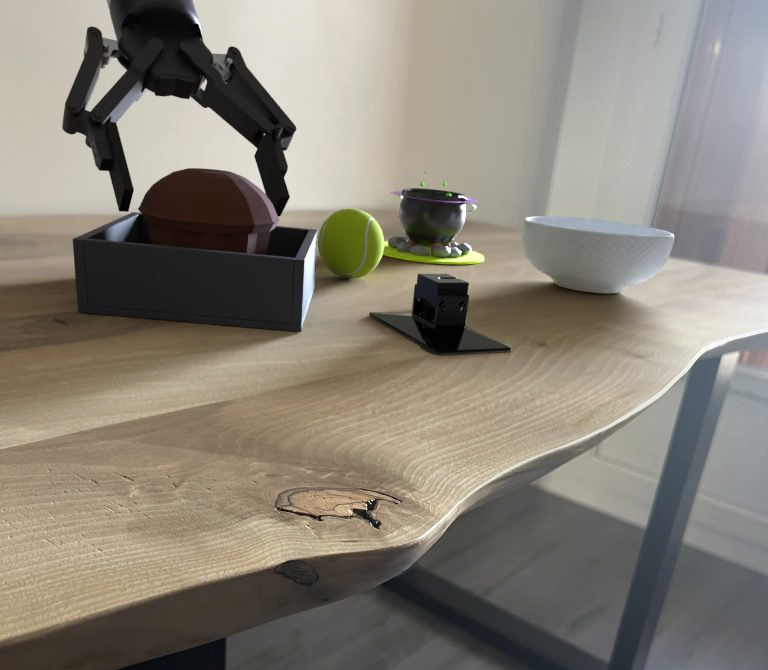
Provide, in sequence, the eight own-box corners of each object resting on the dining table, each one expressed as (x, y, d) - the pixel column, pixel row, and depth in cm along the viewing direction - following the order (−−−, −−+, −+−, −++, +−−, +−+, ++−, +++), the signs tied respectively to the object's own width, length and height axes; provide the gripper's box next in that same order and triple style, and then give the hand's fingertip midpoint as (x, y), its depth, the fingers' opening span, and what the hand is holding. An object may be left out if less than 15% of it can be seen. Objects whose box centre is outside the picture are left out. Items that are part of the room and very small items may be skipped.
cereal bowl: (647, 282, 103) (660, 224, 100) (672, 310, 88) (689, 242, 85) (513, 267, 104) (522, 208, 101) (516, 291, 89) (527, 223, 86)
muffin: (274, 283, 78) (278, 171, 74) (280, 310, 69) (284, 183, 64) (146, 275, 76) (142, 159, 72) (133, 302, 66) (127, 170, 62)
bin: (77, 312, 64) (72, 238, 62) (135, 272, 80) (132, 211, 78) (301, 332, 65) (304, 260, 63) (314, 288, 81) (317, 229, 78)
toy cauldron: (499, 256, 111) (511, 169, 107) (460, 269, 99) (473, 171, 94) (399, 239, 117) (407, 156, 112) (351, 250, 104) (358, 157, 99)
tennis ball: (306, 278, 85) (309, 207, 82) (329, 268, 91) (333, 202, 88) (369, 287, 84) (375, 216, 81) (388, 277, 90) (394, 210, 87)
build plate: (511, 353, 66) (521, 295, 64) (433, 357, 63) (441, 296, 61) (436, 314, 76) (442, 262, 74) (365, 315, 72) (369, 262, 70)
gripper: (266, 55, 83) (322, 233, 78) (-1, 19, 71) (48, 228, 66) (290, -9, 77) (353, 181, 72) (2, -61, 64) (56, 164, 60)
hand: (207, 204), depth 69 cm, fingers open, 13 cm apart
